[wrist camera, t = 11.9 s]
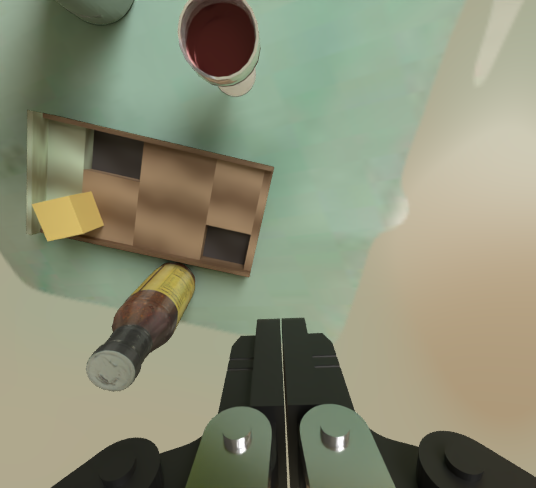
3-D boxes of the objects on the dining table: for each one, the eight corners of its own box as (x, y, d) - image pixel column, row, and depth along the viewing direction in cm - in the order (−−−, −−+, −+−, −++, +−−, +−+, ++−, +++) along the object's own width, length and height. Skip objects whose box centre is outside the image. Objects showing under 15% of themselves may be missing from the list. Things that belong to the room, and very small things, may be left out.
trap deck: (55, 115, 38) (27, 109, 34) (273, 166, 39) (274, 168, 35) (51, 226, 42) (26, 234, 37) (250, 269, 43) (248, 281, 39)
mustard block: (58, 198, 39) (31, 204, 34) (91, 191, 38) (68, 195, 34) (71, 232, 40) (47, 241, 36) (104, 225, 40) (83, 233, 35)
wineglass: (217, 31, 35) (191, -31, 24) (271, 55, 36) (272, 7, 24) (199, 91, 37) (166, 60, 25) (251, 113, 38) (242, 93, 26)
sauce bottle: (163, 304, 45) (83, 413, 26) (148, 265, 43) (50, 351, 24) (205, 293, 44) (155, 397, 25) (191, 254, 43) (127, 332, 24)
